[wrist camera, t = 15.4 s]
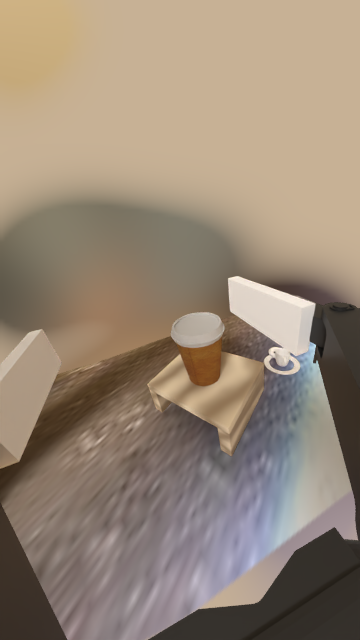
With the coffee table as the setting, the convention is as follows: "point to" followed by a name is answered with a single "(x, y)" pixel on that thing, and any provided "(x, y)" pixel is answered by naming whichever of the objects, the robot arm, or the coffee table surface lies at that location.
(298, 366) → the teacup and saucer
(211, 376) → the disposable coffee cup
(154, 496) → the coffee table surface
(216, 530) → the coffee table surface
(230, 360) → the maple shelf
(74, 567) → the coffee table surface
